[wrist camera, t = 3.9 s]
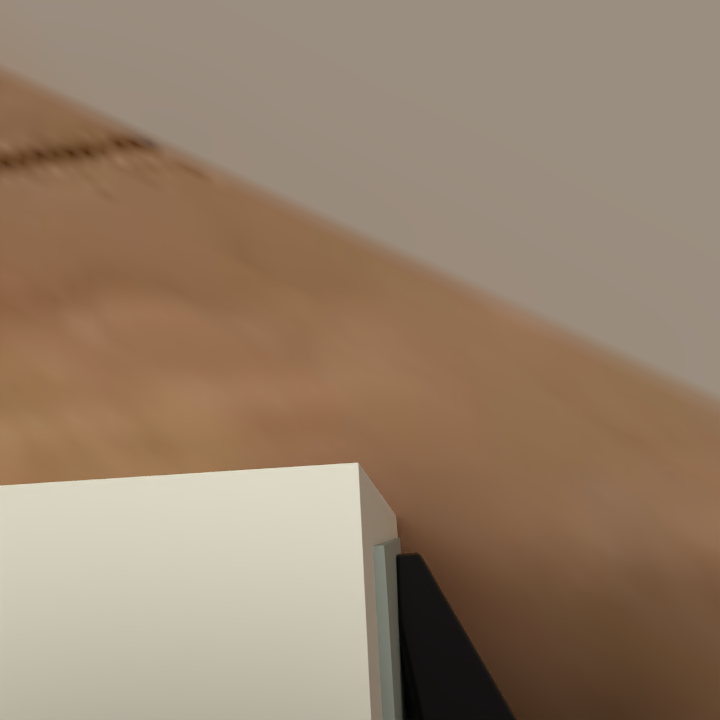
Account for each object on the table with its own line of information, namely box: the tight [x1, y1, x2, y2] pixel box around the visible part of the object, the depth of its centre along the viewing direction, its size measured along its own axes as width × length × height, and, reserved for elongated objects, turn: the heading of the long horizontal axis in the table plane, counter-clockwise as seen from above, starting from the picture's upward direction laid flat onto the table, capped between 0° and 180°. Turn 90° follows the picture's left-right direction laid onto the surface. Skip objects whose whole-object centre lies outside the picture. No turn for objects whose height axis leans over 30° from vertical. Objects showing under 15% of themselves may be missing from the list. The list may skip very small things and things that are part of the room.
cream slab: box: [0, 463, 408, 720], centre depth 9 cm, size 5×3×12 cm, turn 3°
